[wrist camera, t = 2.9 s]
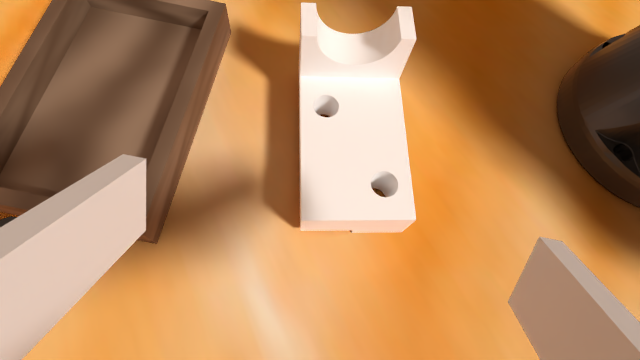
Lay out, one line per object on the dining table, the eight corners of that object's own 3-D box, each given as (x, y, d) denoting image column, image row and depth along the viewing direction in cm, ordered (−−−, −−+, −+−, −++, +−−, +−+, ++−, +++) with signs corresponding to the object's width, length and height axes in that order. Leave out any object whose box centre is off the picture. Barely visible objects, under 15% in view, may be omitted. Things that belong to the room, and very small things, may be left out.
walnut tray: (231, 32, 32) (225, 3, 29) (156, 243, 25) (140, 233, 22) (85, 2, 32) (65, -30, 29) (-29, 206, 25) (-68, 190, 22)
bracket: (298, 76, 31) (301, 2, 24) (384, 78, 32) (411, 6, 25) (299, 234, 26) (303, 200, 19) (400, 233, 27) (439, 199, 20)
